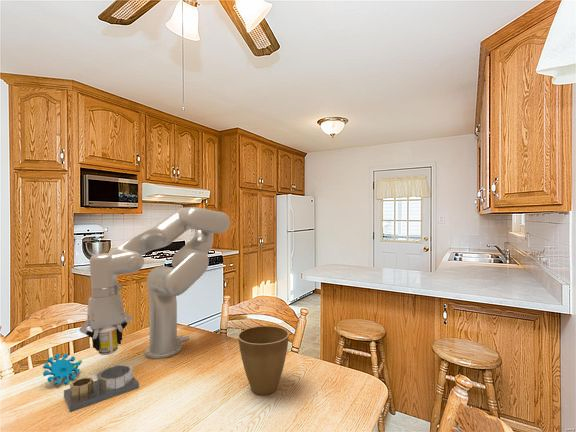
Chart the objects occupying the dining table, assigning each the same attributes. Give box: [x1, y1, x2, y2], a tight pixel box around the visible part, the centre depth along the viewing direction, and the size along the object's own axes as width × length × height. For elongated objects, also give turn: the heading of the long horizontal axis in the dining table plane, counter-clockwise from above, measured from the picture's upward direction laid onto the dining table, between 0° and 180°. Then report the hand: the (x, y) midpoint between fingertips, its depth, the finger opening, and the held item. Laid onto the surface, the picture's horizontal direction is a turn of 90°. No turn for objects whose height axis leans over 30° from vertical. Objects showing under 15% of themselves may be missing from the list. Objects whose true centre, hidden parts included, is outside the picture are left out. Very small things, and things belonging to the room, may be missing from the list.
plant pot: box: [237, 325, 290, 396], centre depth 94 cm, size 15×15×16 cm
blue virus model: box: [42, 353, 83, 386], centre depth 100 cm, size 11×6×10 cm
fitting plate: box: [63, 364, 140, 413], centre depth 92 cm, size 17×10×4 cm, turn 132°
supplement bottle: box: [98, 325, 119, 356], centre depth 105 cm, size 6×6×10 cm
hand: (108, 345), depth 105 cm, fingers closed on supplement bottle, 5 cm apart
